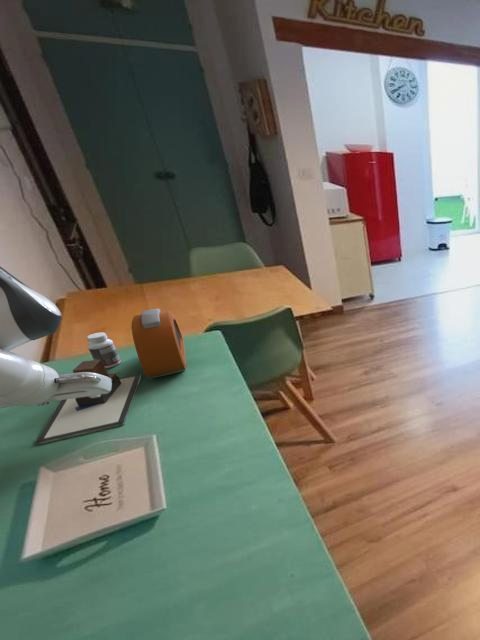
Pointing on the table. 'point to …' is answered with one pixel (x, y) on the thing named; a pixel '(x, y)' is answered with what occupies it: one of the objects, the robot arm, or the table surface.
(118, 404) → the whiteboard
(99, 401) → the eraser
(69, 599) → the table surface
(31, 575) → the table surface
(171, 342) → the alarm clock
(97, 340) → the pill bottle
